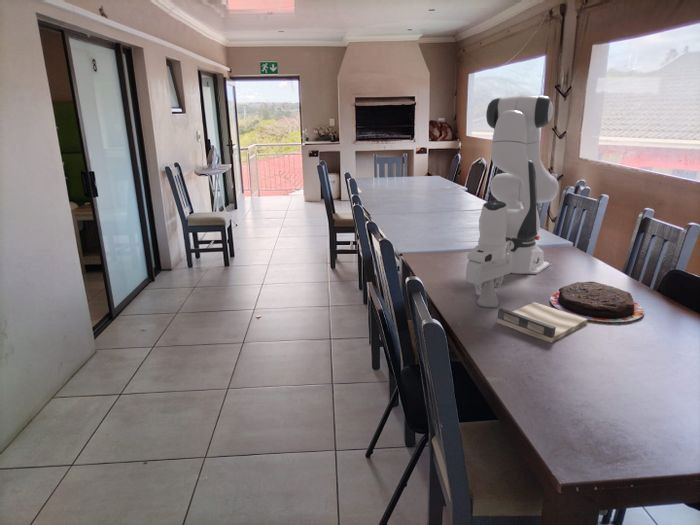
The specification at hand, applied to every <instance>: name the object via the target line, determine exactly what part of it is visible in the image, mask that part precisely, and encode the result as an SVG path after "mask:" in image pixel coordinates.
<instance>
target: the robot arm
mask: <svg viewBox="0 0 700 525" xmlns="http://www.w3.org/2000/svg"><path fill="white" fill-rule="evenodd" d="M553 116H554V104H553V100H552V99H551V97H549V96H547V95H541V94H540V95H518V96H517V95H516V96H508V97H503V98H502V97H498V98H495V99H491V101H490V102H489V104H488V105H487V108H486V113H485V118H486V123H487V125H488V126H489V128H491V129H493V135H492V140H491V147H490V148H491V149H490V160H491V161H492V164H494V166H495V167H496V168H497V169H499V170H501V171H502V173H497V174H496V175H494V177H493V178H491V181H490V185H489V189H490V193H491V196H492V197H493V198H495V199H496V200H491V201H490V200H489V201H486V202H485V203H483V204H482V207H481V211H480V216H479V220H478V231H479V236H478V240H477V245H476V246H475V247H473V249H472V250H470V251H469V252H468V253H467V254H466V259H467V260H468V261H467V263H466V268H465V269H466V270H465V280H466V282H467V284H470V285H473V286H474V287H475V294H476V295H478V296H480V295H482V294H483V288H482V286H483V284H484V283H485V282H486V281H489V280H492V279H494V280H495V282H494V289H500V288H501V287H502V286H501V285H502V282H503V280H504V278H505V276H506V275H509V274H511V273H512V274H528V275H529V274H531V275H537V274H539V273H540V272H542V271H544V270H545V269H547V268H548V267H549V266H550V263H549V262H548V261H546V260H544V258H545V253H544V251H543V250H542V249H541V248H540V247H539V246H538V245H537V244H536V243H537V242H536V241H539V240H540V239H541V238H540V235H538V234H539V232H540V228H541V221H540V216H539V209H538V207H539V206H538V204H542V203H549V202H552V201H553V200H555V198H556V197H557V196H558V194H559V191H560V185H559V184H560V183H559V181H558V180H557V178H556V177H555V176H553V175H552V174H551V173H550V172H549V171H548V169H547V168H546V167H545V166H544V164H543V162H542V158H541V129H540V128H544V127H546V126H547V125H548V124H549V123H550V122H551V120H552V117H553ZM522 202H523V204H522Z"/></svg>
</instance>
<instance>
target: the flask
mask: <svg viewBox="0 0 700 525" xmlns="http://www.w3.org/2000/svg"><path fill="white" fill-rule="evenodd" d="M494 280H495V279H492V280H489V281H486V282H484V286H483V288H482V289H483V294H482V295H479V298H478V299H477V301H476V304H477V305H479V306H480V307H483V308H489V309H490V308H498V306H499V304H500V303H499V300H498V296H497V293H496V290H495V289H496V288H494V283H495V282H494Z"/></svg>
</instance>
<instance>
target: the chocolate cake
mask: <svg viewBox="0 0 700 525" xmlns="http://www.w3.org/2000/svg"><path fill="white" fill-rule="evenodd" d="M549 303H551V304H550V305H551V306H552V308H554V309H557V310H560V311H564V312H567V313H570V314H573V315H576V316H579V317H582V318H585V319H588V320H587V323H588V322H589V323H590V322H592V323H593V322H594V323H595V322H596V323H600V324H607V323H608V324H610V325H622V324H626V323H630V322H634V321H637V320H640V319H641V318H642V317H644V314H645V310H644V308H643V307H642V306H641V304H639V303H638V302H636V301H635V300H634V299H633V296H632V294H631V293H630V292H629V291H626V290H623V289H620V288H617V287H614V286H611V285H607V284H604V283H599V282H596V281H583V282H582V281H581V282H579V281H577V282H574V283H573V282H572V283H571V284H568V285H565V286H562V287H560V288H559V289H558V291H556V292H554V293H553V294H552V295H551V296H550V298H549Z"/></svg>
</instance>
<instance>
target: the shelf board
mask: <svg viewBox="0 0 700 525" xmlns="http://www.w3.org/2000/svg"><path fill="white" fill-rule="evenodd" d="M496 318H497V319H496V323H497V324H501V325H503V326H505V327H509V328H511V329H512V330H517V331H519V332H521V333H524V334H526V335H528V336H531V337H534V338H538V339H540V340H542V341H544V342H548V343H550V344H552V343H554V342H556V341H557V340H559V339H561V338H563V337H565V336H568V335H569V334H571V333H572V332H575V331H576V330H578V329H580V328H581V327H584V326H585V325H587V324H588V321H587V320H588V319H585V318H582V317H579V316H576V315H573V314H570V313H567V312H564V311H560V310H558V309H555V308H554V307H550V306H547V305H545V304H541V303H538V302H536V301H533V302H531V303H528V304H527V305H525V306H522V307H519V308H518V309H515V310H513V311H512V310H508V309H506V308H504V307H503V308H502V307H500V308H498V309H497V317H496Z"/></svg>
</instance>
